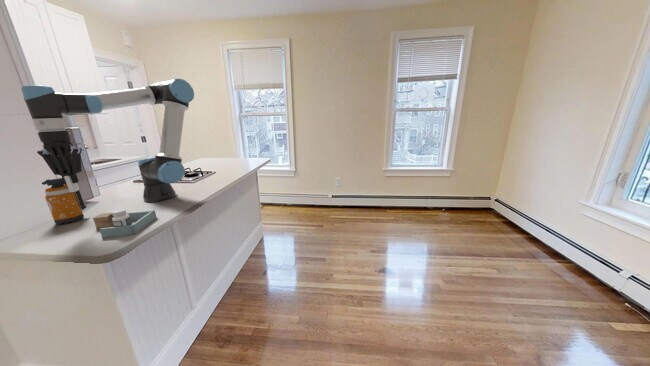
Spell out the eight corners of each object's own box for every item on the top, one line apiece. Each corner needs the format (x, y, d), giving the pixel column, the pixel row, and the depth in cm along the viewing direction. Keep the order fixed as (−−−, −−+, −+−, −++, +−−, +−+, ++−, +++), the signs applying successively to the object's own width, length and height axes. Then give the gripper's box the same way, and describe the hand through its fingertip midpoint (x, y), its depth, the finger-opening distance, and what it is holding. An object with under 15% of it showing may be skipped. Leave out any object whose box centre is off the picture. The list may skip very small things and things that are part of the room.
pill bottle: (131, 227, 95) (125, 207, 93) (135, 230, 92) (129, 209, 90) (114, 232, 91) (108, 211, 88) (118, 236, 88) (111, 214, 85)
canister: (56, 221, 104) (39, 178, 99) (90, 213, 112) (76, 173, 106) (54, 227, 98) (36, 182, 93) (90, 218, 106) (76, 176, 100)
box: (129, 220, 102) (127, 212, 101) (156, 217, 104) (154, 210, 103) (102, 237, 87) (99, 229, 86) (134, 234, 89) (132, 226, 88)
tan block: (105, 223, 100) (102, 213, 98) (118, 222, 100) (115, 212, 99) (96, 229, 95) (92, 217, 94) (110, 227, 96) (106, 216, 94)
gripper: (20, 132, 81) (46, 195, 87) (64, 130, 83) (86, 192, 89) (41, 131, 88) (64, 189, 94) (81, 129, 90) (100, 186, 96)
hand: (74, 191), depth 92 cm, fingers closed
